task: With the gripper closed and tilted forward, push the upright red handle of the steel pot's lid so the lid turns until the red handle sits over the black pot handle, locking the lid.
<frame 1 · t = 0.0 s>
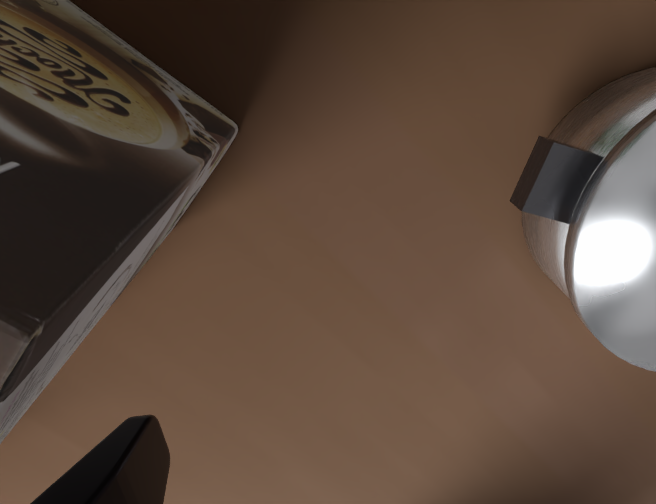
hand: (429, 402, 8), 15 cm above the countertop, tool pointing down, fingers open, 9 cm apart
coffee box: (113, 117, 20), on the countertop
pot: (642, 193, 22), on the countertop
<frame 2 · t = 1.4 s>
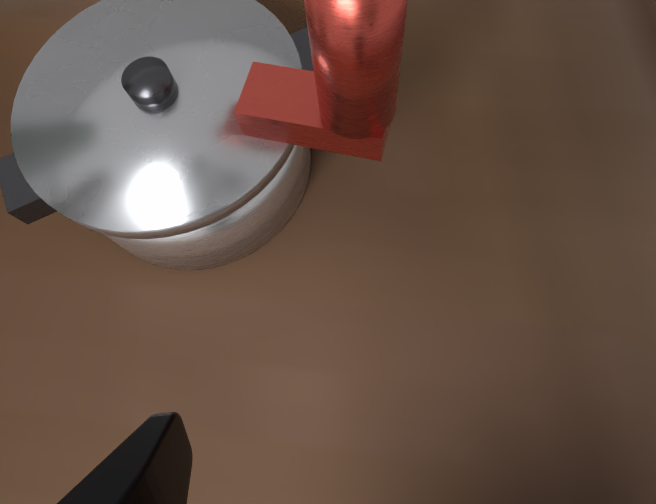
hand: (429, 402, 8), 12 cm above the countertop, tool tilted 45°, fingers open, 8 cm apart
pot: (201, 165, 24), on the countertop
lid: (165, 36, 15), point 9 cm above the countertop, hinge at 0.0°
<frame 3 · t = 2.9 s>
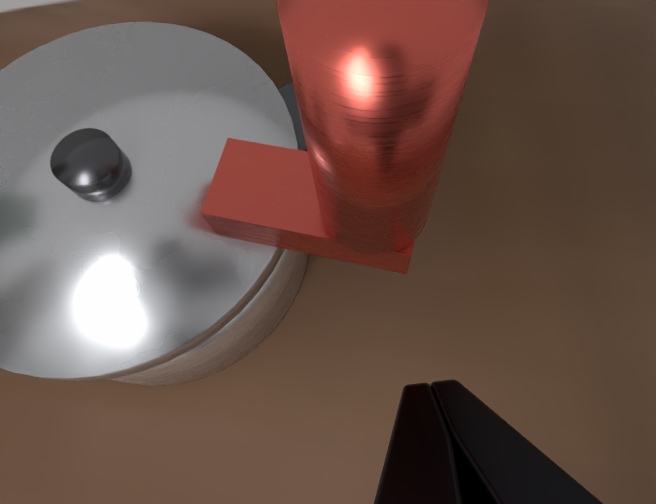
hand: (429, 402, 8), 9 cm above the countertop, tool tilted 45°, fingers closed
pot: (173, 244, 19), on the countertop
lid: (97, 113, 11), point 9 cm above the countertop, hinge at 0.0°
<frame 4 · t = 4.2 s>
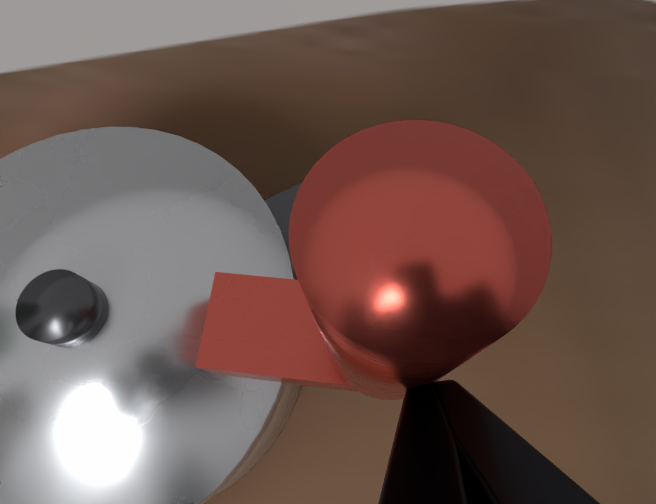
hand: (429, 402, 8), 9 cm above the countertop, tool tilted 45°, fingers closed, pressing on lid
pot: (159, 348, 18), on the countertop
lid: (66, 284, 9), point 9 cm above the countertop, hinge at 6.1°, touching gripper
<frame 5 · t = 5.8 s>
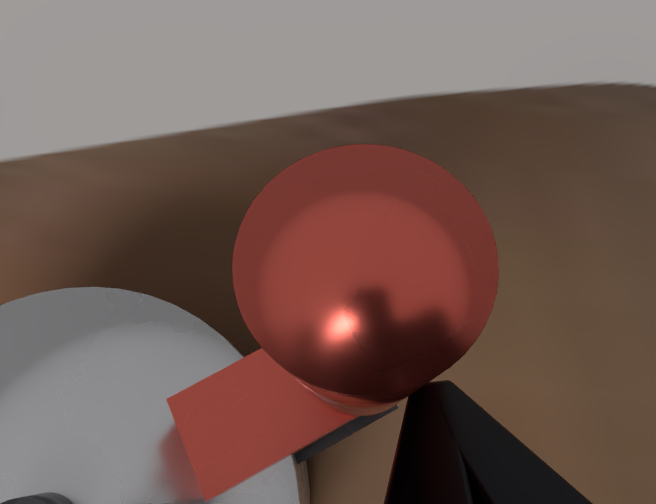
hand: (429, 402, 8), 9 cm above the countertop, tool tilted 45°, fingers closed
pot: (145, 502, 16), on the countertop
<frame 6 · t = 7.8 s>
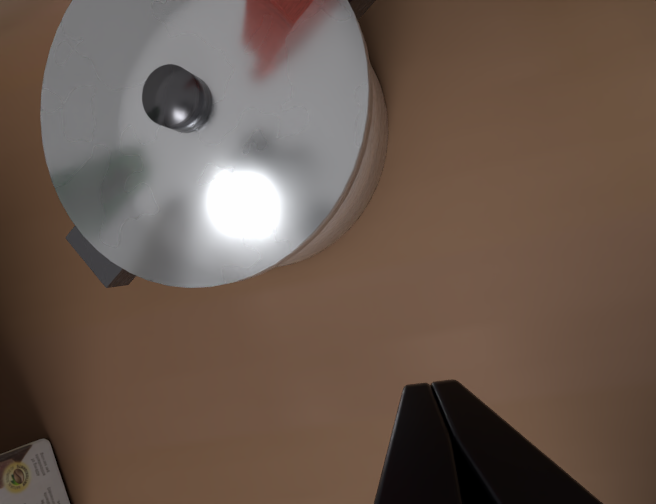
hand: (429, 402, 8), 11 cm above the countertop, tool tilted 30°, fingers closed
pot: (260, 139, 20), on the countertop
lid: (156, 10, 12), point 9 cm above the countertop, hinge at 40.5°
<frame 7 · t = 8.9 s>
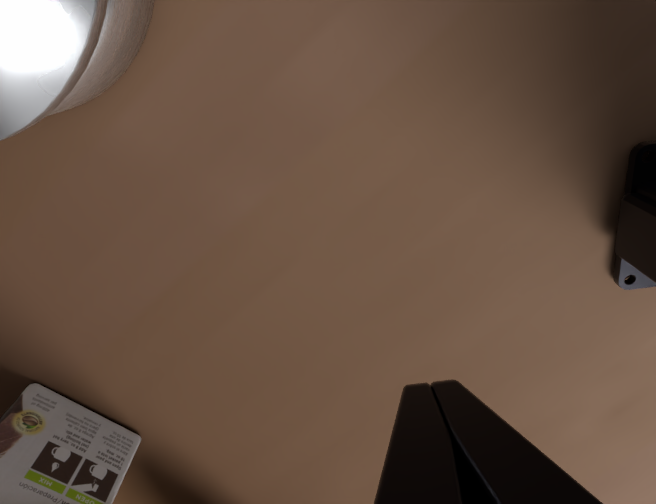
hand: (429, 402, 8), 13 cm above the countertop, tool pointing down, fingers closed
coffee box: (53, 457, 26), on the countertop
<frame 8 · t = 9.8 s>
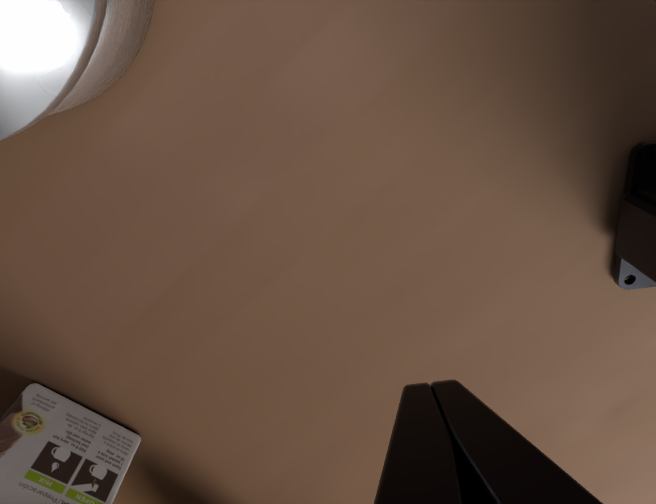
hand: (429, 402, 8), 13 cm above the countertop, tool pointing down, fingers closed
coffee box: (52, 457, 26), on the countertop
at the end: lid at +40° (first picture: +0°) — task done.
